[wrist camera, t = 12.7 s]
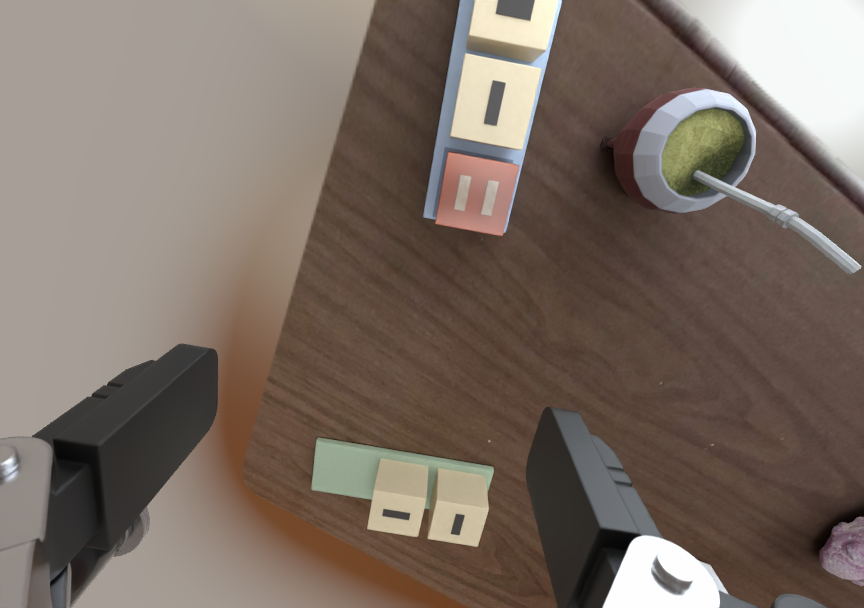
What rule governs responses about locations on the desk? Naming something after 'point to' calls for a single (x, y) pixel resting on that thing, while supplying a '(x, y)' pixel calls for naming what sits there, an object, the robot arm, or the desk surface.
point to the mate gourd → (698, 160)
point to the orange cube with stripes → (476, 193)
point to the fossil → (845, 551)
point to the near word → (492, 83)
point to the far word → (407, 489)
